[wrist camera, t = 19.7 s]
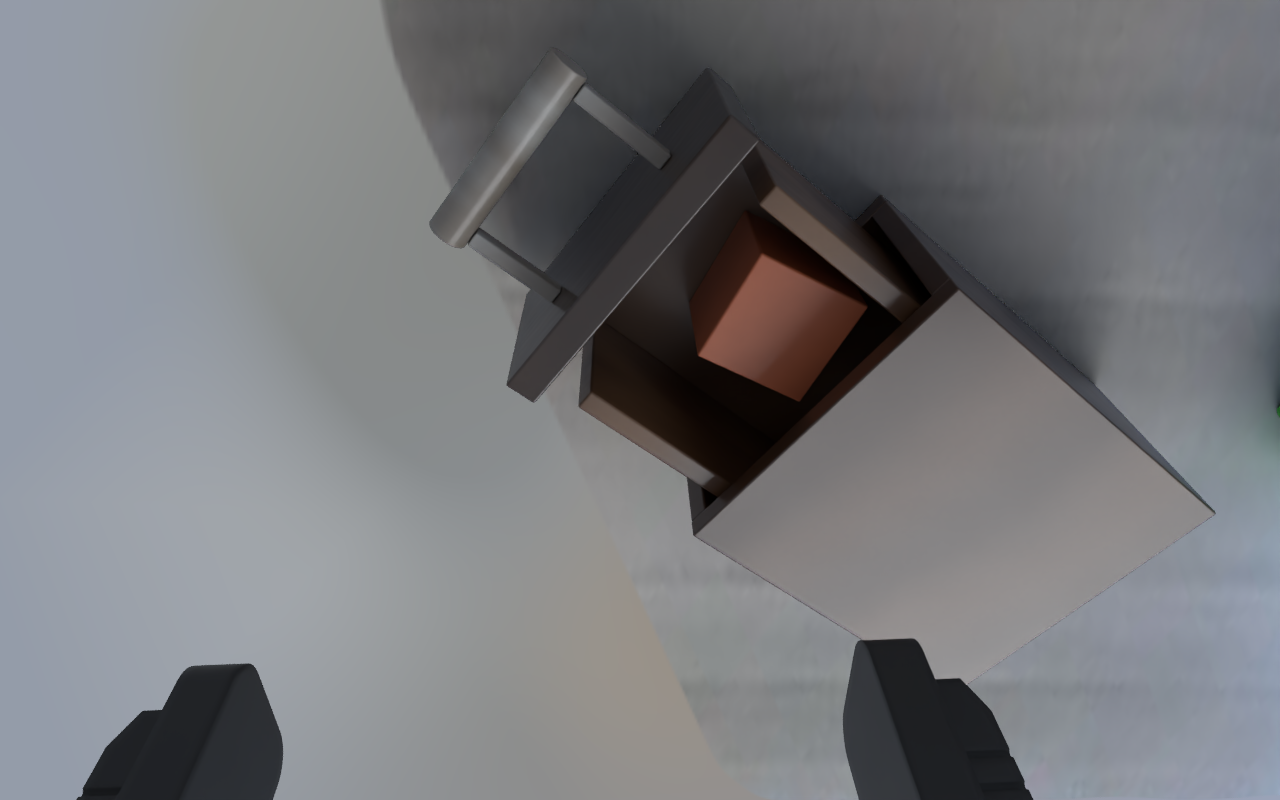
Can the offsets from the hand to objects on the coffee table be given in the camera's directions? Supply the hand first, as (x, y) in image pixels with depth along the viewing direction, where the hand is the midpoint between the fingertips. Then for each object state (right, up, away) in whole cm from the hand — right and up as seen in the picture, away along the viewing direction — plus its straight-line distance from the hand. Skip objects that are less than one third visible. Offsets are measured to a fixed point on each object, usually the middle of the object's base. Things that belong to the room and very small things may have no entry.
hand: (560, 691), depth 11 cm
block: (+4, +8, +19) cm, 22 cm away
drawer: (+3, +10, +22) cm, 25 cm away
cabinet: (+12, +4, +27) cm, 30 cm away
